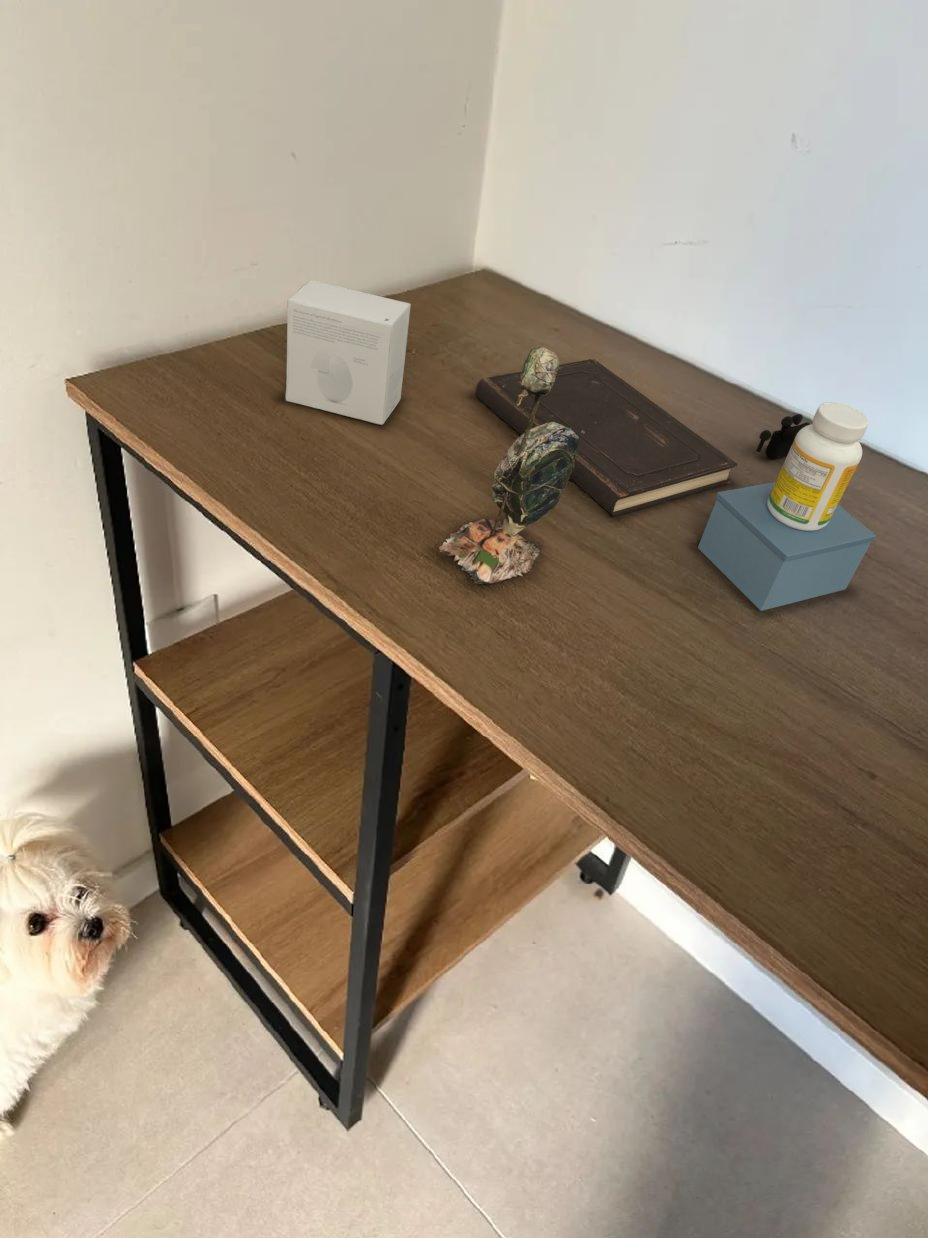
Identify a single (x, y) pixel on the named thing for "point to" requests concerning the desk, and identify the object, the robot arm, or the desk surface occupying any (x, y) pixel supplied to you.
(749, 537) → the blue box
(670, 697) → the desk surface
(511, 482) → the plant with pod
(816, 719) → the desk surface
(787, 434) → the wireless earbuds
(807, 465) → the supplement bottle
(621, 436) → the hardcover book
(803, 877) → the desk surface
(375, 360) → the cosmetics box
